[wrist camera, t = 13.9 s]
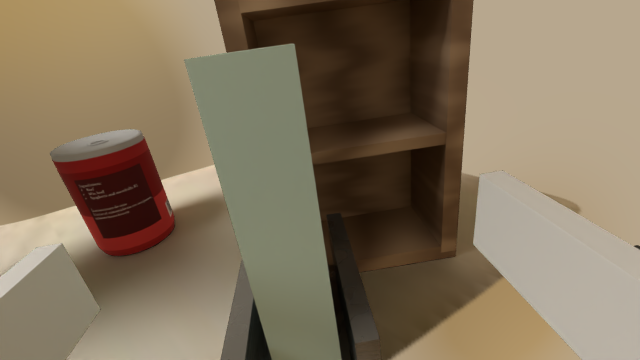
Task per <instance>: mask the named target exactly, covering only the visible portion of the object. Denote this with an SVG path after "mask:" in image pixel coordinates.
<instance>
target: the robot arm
mask: <svg viewBox="0 0 640 360" xmlns="http://www.w3.org/2000/svg"><path fill="white" fill-rule="evenodd" d="M473 245H474V246H475V247H476V248H477V249H478V250H479V251H480V252H481V253H482V254H483V255H484V256H485V257H486V258H487V259H488V261H489V262H490V263H491V264H492V265H493V266H494V267H495V268H496V269H497V270H498V271H499V272H500V273H501V274H502V275H503V276H504V278H505V279H506V280H507V281H508V282H509V283H510V284H511V285H512V286H513V287H514V288H515V289H516V290H517V291H518V292H519V293H520V294H521V295H522V297H523V298H524V299H525V300H526V301H527V302H528V303H529V304H530V305H531V306H532V307H533V308H534V309H535V310H536V312H538V313H539V315H540V316H541V317H542V318H543V319H544V320H545V321H546V322H547V323H548V324H549V325H550V326H551V327H552V328H553V330H554V331H555V332H556V333H557V334H558V335H559V336H560V337H561V338H562V339H563V340H564V341H565V342H566V343H567V344H568V345H569V347H570V348H571V349H572V350H573V351H574V352H575V353H576V354H577V355H578V356H579V357H580V358H581V359H582V360H640V246H638V245H636V246H632V245H631V244H629V243H627V242H625V241H624V240H622V239H620V238H618V237H617V236H615V235H613V234H612V233H610V232H608V231H607V230H605V229H603V228H601V227H600V226H598V225H596V224H594V223H593V222H591V221H589V220H587V219H586V218H584V217H582V216H581V215H579V214H577V213H575V212H574V211H572V210H570V209H569V208H567V207H565V206H563V205H562V204H560V203H558V202H556V201H555V200H553V199H551V198H550V197H548V196H546V195H544V194H543V193H541V192H539V191H537V190H536V189H534V188H532V187H531V186H529V185H527V184H525V183H524V182H522V181H520V180H518V179H517V178H515V177H513V176H512V175H510V174H508V173H506V172H505V171H503V170H502V171H496V172H491V173H484V174H480V177H479V188H478V198H477V209H476V219H475V230H474V240H473ZM100 310H101V309H100V307H99V306H98V304H97V302H96V300H95V299H94V297H93V295H92V294H91V292H90V290H89V288H88V287H87V285H86V283H85V282H84V280H83V278H82V276H81V275H80V273H79V271H78V270H77V268H76V266H75V264H74V263H73V261H72V259H71V258H70V256H69V254H68V253H67V251H66V249H65V247H64V246H63V244H62V243H60V244H54V245H48V246H42V247H36V248H35V249H34V250H32V251H31V252H30V253H29V254H28V255H26V256H25V257H24V258H23V259H21V260H20V261H19V262H18V263H17V264H15V265H14V266H13V267H12V268H10V269H9V270H8V271H7V272H6V273H4V274H3V275H2V276H1V277H0V360H66V359H67V357H68V356H69V354H70V353H71V351H72V350H73V348H74V347H75V346H76V344H77V343H78V341H79V340H80V338H81V337H82V336H83V334H84V333H85V331H86V330H87V328H88V327H89V325H90V324H91V323H92V321H93V320H94V318H95V317H96V315H97V314H98V312H99V311H100Z"/></svg>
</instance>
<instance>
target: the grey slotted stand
mask: <svg viewBox="0 0 640 360" xmlns="http://www.w3.org/2000/svg"><path fill="white" fill-rule="evenodd" d="M270 47H271V46H270ZM263 48H264V47H263ZM256 49H257V48H256ZM326 216H327V224H328V231H329V238H330V245H331V252H332V259H333V267H334V271H331V272H329V278H330V285H331V292H332V298H333V305H334V312H335V318H336V325H337V332H338V338H339V345H340V352H341V359H342V360H381V349H380V338H379V335H378V331H377V328H376V325H375V322H374V319H373V315H372V312H371V309H370V306H369V303H368V299H367V296H366V293H365V290H364V286H363V283H362V280H361V277H360V274H359V270H358V267H357V264H356V261H355V258H354V254H353V251H352V248H351V245H350V241H349V238H348V235H347V232H346V229H345V225H344V222H343V219H342V216H341V213H335V214H328V215H326ZM221 360H272V358H271V355H270V351H269V348H268V345H267V341H266V338H265V334H264V331H263V328H262V324H261V321H260V317H259V314H258V310H257V307H256V304H255V300H254V297H253V293H252V290H251V287H250V283H249V280H248V276H247V273H246V269H245V266H244V263H243V259H242V261H241V266H240V270H239V275H238V280H237V284H236V289H235V294H234V299H233V303H232V308H231V313H230V317H229V322H228V327H227V331H226V336H225V341H224V346H223V350H222V355H221Z"/></svg>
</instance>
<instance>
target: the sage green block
mask: <svg viewBox="0 0 640 360" xmlns="http://www.w3.org/2000/svg"><path fill="white" fill-rule="evenodd" d="M184 61H185V64H186V68H187V72H188V75H189V78H190V82H191V85H192V88H193V92H194V95H195V98H196V102H197V105H198V109H199V112H200V116H201V119H202V123H203V126H204V129H205V133H206V136H207V139H208V143H209V147H210V150H211V153H212V157H213V160H214V164H215V167H216V171H217V174H218V177H219V181H220V184H221V188H222V191H223V194H224V198H225V201H226V205H227V208H228V211H229V215H230V218H231V222H232V225H233V229H234V232H235V235H236V239H237V242H238V246H239V249H240V252H241V256H242V259H243V263H244V266H245V269H246V273H247V276H248V280H249V283H250V287H251V290H252V293H253V297H254V300H255V304H256V307H257V310H258V314H259V317H260V321H261V324H262V328H263V331H264V334H265V338H266V341H267V345H268V348H269V351H270V355H271V358H272V360H342V359H341V352H340V345H339V338H338V332H337V325H336V318H335V312H334V305H333V298H332V292H331V285H330V278H329V272H328V265H327V258H326V251H325V245H324V238H323V231H322V225H321V218H320V211H319V205H318V198H317V191H316V184H315V178H314V171H313V164H312V158H311V151H310V144H309V138H308V131H307V124H306V117H305V111H304V104H303V97H302V91H301V84H300V77H299V71H298V64H297V57H296V51H295V44H285V45H278V46H271V47H264V48H257V49H250V50H243V51H236V52H229V53H223V54H216V55H210V56H204V57H198V58H191V59H185V60H184Z"/></svg>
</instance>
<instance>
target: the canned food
mask: <svg viewBox="0 0 640 360" xmlns="http://www.w3.org/2000/svg"><path fill="white" fill-rule="evenodd" d="M50 155H51V157H52V161H53V162H54V164H55V166H56V168H57V171H58V172H59V174H60V176H61V178H62V180H63V182H64V184H65V185H66V187H67V189H68V191H69V193H70V195H71V197H72V199H73V201H74V202H75V204H76V206H77V208H78V210H79V212H80V214H81V215H82V217H83V219H84V221H85V223H86V225H87V227H88V229H89V230H90V232H91V234H92V236H93V238H94V240H95V242H96V243H97V245H98V247H99V248H100V249H101V250H102V251H104V252H105V253H106V254H108V255H113V256H122V255H129V254H134V253H137V252H140V251H143V250H146V249H148V248H150V247H152V246H154V245H156V244H158V243H159V242H161V241H162V240H164V239H165V238H166V237H167V236H168V235H169V234H170V233H171V232H172V230H173V229H174V226H175V225H174V214H173V212H172V209H171V206H170V204H169V201H168V198H167V196H166V193H165V190H164V188H163V185H162V182H161V180H160V177H159V174H158V172H157V169H156V166H155V164H154V161H153V159H152V156H151V154H150V150H149V148H148V146H147V143H146V141H145V138H144V136H143V135H142V132H141V131H139V130H133V129H130V130H119V131H112V132H107V133H101V134H97V135H92V136H89V137H85V138H81V139H78V140H74V141H72V142H69V143H66V144H63V145H61V146H59V147H57V148H55V149H54V150H53V151H51V152H50Z"/></svg>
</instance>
